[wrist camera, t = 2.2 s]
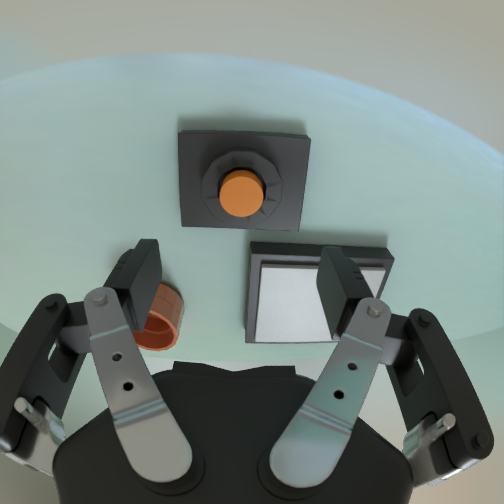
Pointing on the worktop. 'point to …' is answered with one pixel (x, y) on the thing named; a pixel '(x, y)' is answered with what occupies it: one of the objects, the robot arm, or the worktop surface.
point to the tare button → (241, 193)
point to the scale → (299, 290)
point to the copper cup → (162, 321)
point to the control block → (242, 158)
